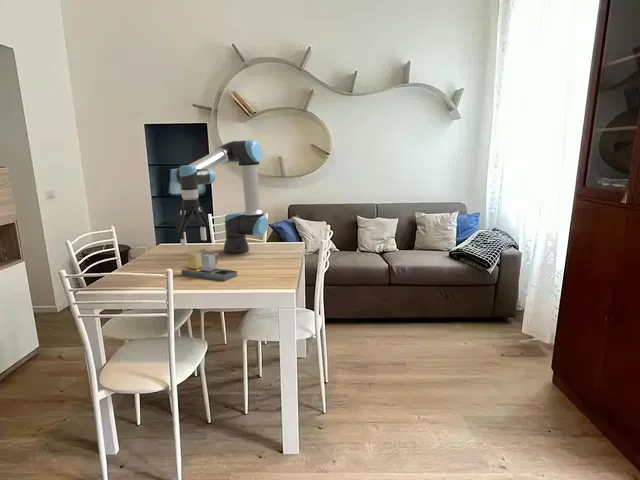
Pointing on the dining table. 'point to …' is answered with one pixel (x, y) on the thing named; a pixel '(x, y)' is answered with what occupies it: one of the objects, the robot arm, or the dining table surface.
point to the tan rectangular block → (194, 261)
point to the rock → (209, 253)
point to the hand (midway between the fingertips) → (194, 242)
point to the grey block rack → (211, 274)
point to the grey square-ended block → (208, 263)
